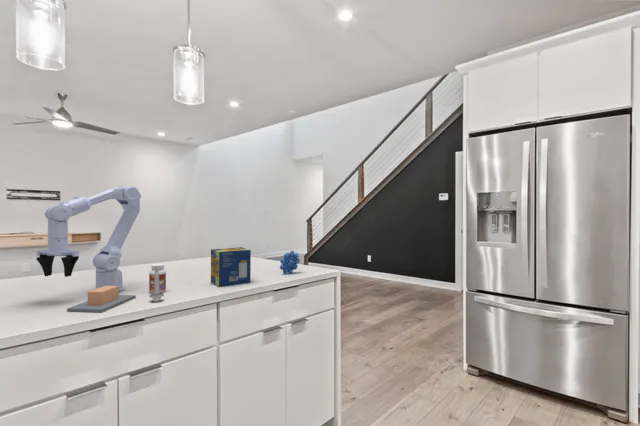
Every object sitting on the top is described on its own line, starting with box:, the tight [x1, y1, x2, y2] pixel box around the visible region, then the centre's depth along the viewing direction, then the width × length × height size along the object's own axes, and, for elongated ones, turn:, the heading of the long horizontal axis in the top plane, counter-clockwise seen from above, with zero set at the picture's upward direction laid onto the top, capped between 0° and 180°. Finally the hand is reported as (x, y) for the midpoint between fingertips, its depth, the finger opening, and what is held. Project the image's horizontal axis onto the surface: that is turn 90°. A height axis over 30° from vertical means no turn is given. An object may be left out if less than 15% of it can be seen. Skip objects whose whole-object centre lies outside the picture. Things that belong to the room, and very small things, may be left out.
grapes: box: [279, 250, 301, 275], centre depth 178 cm, size 12×7×12 cm, turn 124°
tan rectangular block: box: [87, 286, 120, 305], centre depth 119 cm, size 5×9×4 cm, turn 176°
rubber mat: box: [66, 294, 137, 314], centre depth 120 cm, size 18×12×1 cm, turn 176°
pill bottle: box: [148, 263, 167, 294], centre depth 138 cm, size 6×6×11 cm
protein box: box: [210, 246, 252, 288], centre depth 155 cm, size 10×15×16 cm
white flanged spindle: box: [149, 266, 165, 303], centre depth 124 cm, size 13×5×5 cm
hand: (58, 276), depth 122 cm, fingers open, 7 cm apart
